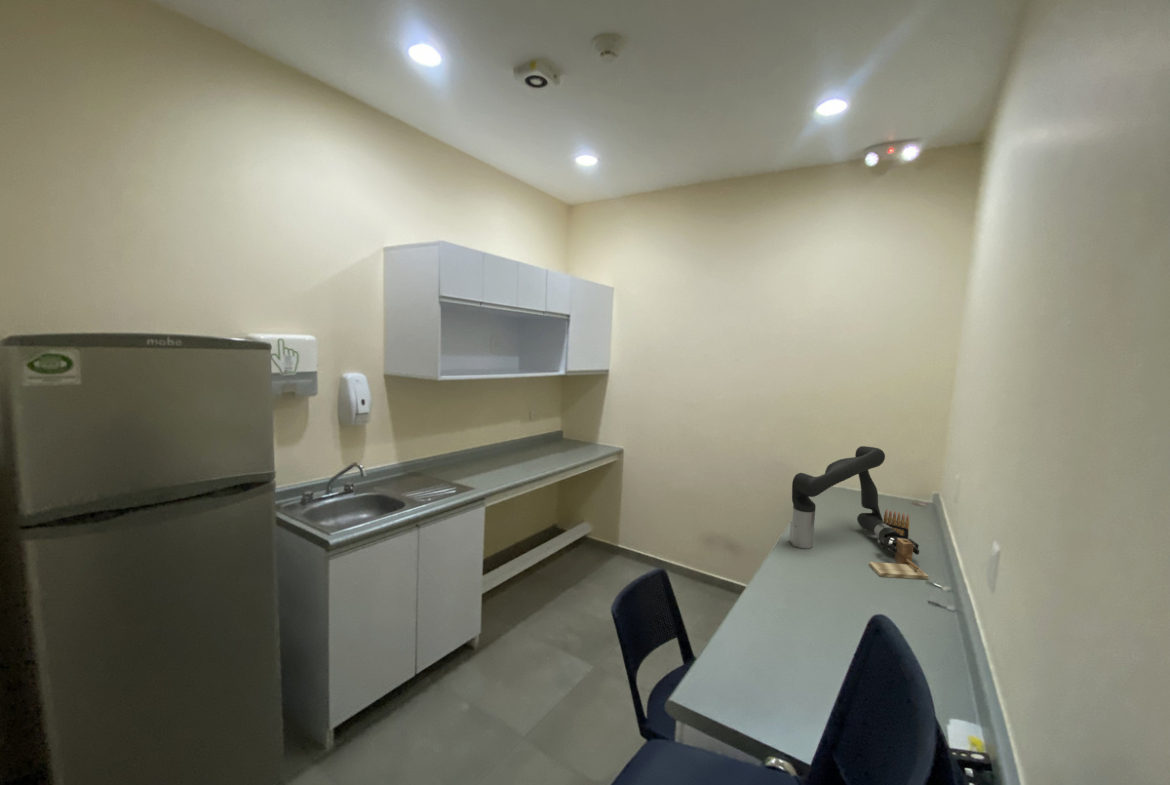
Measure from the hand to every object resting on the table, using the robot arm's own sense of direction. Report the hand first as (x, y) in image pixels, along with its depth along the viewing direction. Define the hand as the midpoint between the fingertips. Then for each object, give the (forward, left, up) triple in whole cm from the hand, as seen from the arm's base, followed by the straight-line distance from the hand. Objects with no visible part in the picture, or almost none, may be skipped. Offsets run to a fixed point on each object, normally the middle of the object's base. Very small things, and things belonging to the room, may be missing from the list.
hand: (906, 551), depth 196 cm
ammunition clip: (+11, +31, -6) cm, 33 cm away
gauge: (0, -2, -6) cm, 6 cm away
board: (-6, -6, -6) cm, 11 cm away
